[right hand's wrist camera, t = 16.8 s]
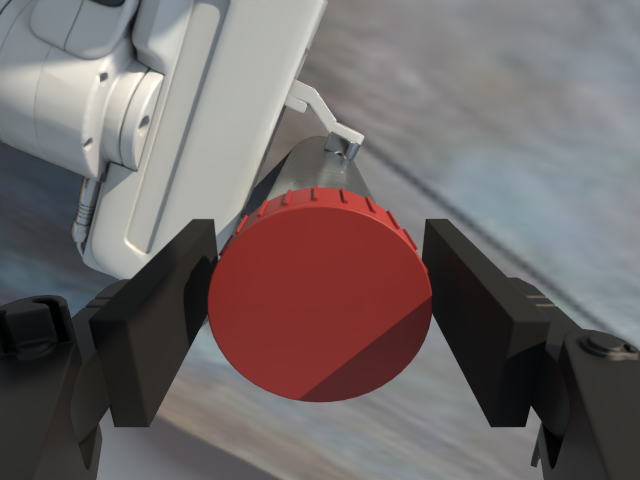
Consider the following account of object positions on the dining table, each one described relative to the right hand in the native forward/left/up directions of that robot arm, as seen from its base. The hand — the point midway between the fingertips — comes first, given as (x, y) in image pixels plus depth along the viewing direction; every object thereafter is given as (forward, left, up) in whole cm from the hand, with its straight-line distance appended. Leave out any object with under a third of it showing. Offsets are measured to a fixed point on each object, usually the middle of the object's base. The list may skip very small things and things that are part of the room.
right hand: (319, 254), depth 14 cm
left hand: (0, -1, -9) cm, 9 cm away
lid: (0, 0, +4) cm, 4 cm away
